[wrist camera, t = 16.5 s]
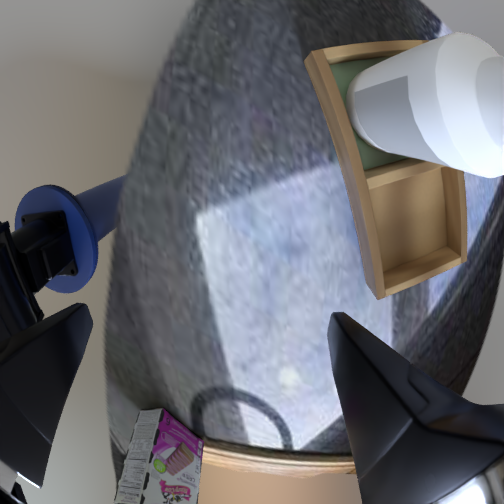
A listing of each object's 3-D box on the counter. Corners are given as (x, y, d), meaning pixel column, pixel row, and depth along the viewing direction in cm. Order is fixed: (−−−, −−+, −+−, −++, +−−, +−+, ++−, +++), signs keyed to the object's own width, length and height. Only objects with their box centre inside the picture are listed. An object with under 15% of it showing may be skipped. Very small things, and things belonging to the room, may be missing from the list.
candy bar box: (206, 440, 36) (197, 528, 21) (181, 442, 36) (168, 525, 21) (163, 405, 31) (139, 510, 16) (138, 408, 32) (111, 503, 17)
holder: (365, 283, 23) (377, 300, 21) (303, 61, 16) (311, 50, 13) (450, 248, 22) (466, 261, 19) (410, 47, 15) (428, 40, 12)
